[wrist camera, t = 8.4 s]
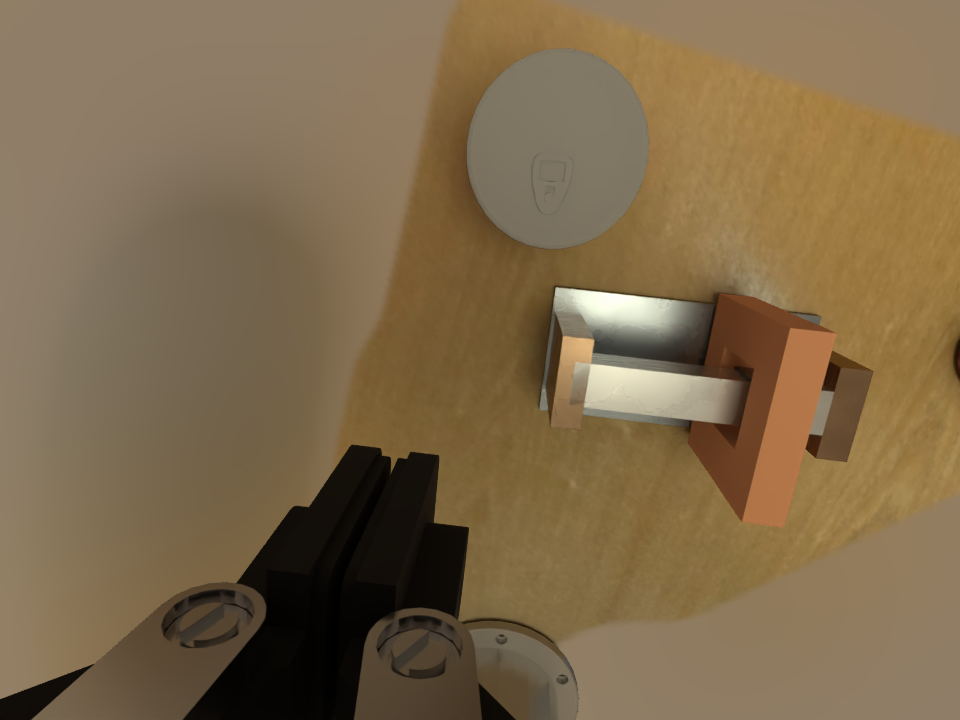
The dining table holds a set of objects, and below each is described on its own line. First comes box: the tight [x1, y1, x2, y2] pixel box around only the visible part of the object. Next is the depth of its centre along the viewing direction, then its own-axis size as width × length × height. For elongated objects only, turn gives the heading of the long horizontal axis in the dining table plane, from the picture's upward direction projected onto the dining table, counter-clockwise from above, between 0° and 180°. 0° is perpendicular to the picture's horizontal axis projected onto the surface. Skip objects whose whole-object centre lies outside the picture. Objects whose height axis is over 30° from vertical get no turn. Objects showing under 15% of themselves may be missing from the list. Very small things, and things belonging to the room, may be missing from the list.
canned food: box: [467, 48, 649, 249], centre depth 30 cm, size 8×8×11 cm
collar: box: [688, 293, 837, 527], centre depth 32 cm, size 2×10×10 cm, turn 174°
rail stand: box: [539, 286, 874, 462], centre depth 34 cm, size 16×8×7 cm, turn 84°
